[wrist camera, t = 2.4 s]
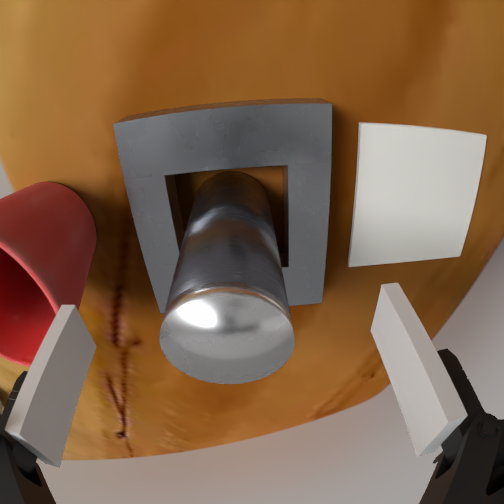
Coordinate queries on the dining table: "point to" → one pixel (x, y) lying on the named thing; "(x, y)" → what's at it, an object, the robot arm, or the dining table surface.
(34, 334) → the flower pot
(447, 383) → the robot arm
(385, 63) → the dining table surface
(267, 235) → the metal cylinder
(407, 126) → the pad
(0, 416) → the dark grey tapered piece
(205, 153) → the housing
